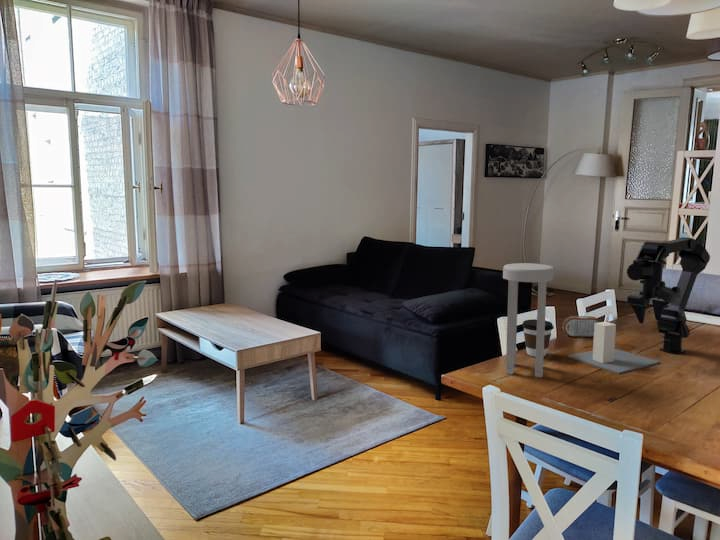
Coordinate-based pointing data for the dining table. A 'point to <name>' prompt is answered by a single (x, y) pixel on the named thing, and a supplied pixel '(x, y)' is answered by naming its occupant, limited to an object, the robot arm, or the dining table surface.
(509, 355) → the stool
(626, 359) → the mat
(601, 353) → the card box
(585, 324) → the tin
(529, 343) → the coffee cup
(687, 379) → the dining table surface
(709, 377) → the dining table surface
